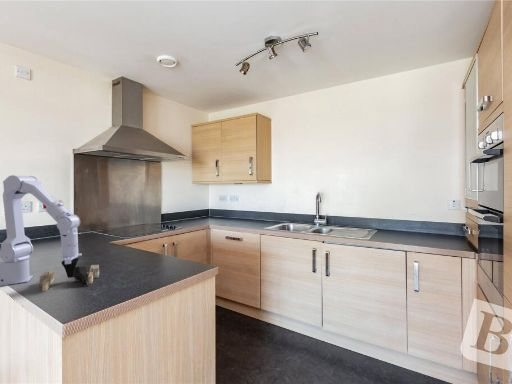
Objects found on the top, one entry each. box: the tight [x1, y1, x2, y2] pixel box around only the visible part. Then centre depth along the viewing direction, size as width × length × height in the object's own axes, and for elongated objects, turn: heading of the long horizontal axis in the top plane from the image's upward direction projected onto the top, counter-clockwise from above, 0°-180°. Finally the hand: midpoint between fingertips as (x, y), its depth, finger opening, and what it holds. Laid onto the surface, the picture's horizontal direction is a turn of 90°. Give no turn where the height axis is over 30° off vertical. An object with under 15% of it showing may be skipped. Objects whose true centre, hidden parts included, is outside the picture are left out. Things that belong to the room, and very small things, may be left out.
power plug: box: [72, 264, 90, 287], centre depth 110 cm, size 6×8×12 cm
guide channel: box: [39, 264, 100, 293], centre depth 112 cm, size 20×18×4 cm
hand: (71, 277), depth 112 cm, fingers closed
